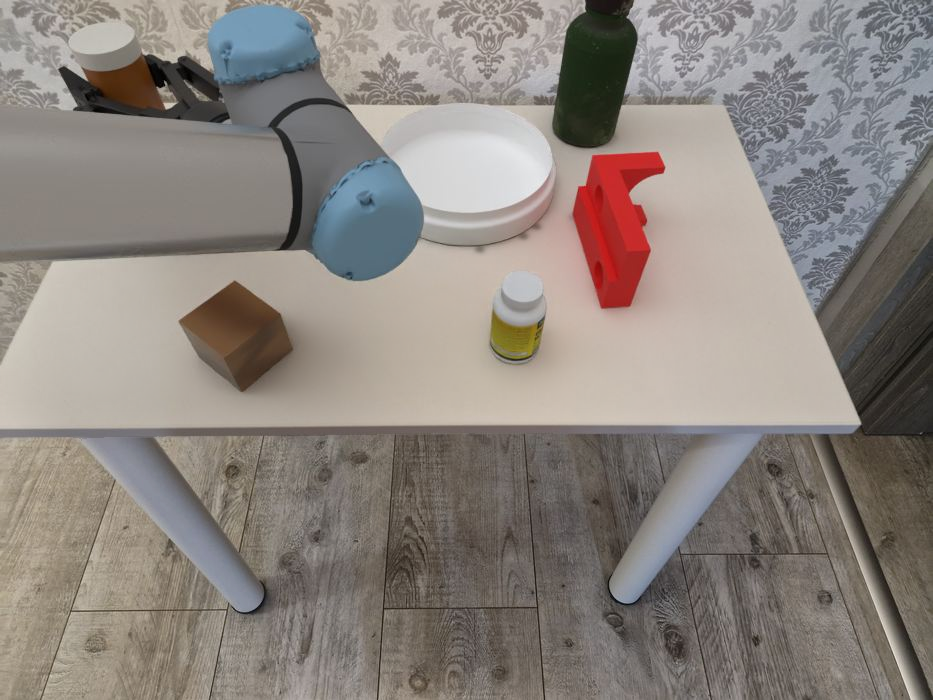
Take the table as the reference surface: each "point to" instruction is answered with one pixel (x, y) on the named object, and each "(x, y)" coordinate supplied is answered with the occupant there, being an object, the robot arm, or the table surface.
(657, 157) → the bracket
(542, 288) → the pill bottle
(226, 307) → the riser
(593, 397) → the table surface
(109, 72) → the vitamin bottle
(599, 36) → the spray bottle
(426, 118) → the round white tray
